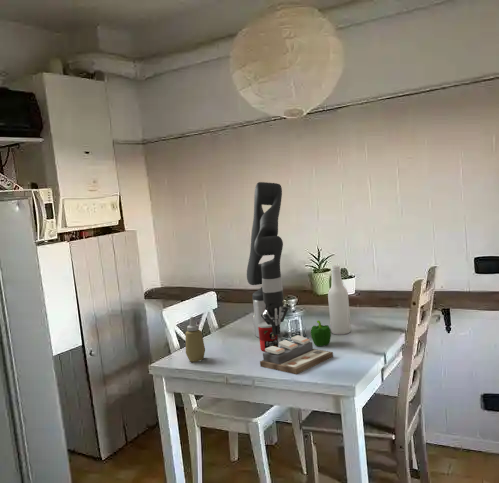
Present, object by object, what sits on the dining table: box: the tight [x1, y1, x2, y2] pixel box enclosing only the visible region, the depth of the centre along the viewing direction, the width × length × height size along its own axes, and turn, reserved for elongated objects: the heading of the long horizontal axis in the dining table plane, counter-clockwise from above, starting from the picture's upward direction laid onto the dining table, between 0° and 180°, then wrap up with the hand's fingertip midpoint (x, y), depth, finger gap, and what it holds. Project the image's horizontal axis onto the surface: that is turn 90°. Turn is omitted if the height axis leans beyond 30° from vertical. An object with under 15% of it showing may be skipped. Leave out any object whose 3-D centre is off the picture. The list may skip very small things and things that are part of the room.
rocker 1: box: [265, 346, 285, 354], centre depth 216 cm, size 6×4×2 cm, turn 45°
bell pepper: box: [310, 320, 332, 347], centre depth 237 cm, size 8×8×10 cm
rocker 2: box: [278, 339, 298, 350], centre depth 221 cm, size 6×4×2 cm, turn 45°
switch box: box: [259, 341, 334, 375], centre depth 218 cm, size 18×22×5 cm
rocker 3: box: [290, 334, 311, 345], centre depth 226 cm, size 6×4×2 cm, turn 45°
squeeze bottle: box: [185, 316, 206, 363], centre depth 233 cm, size 8×8×18 cm
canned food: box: [258, 322, 279, 353], centre depth 238 cm, size 8×8×11 cm
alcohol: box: [327, 264, 352, 336], centre depth 252 cm, size 9×9×30 cm
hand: (276, 334), depth 213 cm, fingers closed
